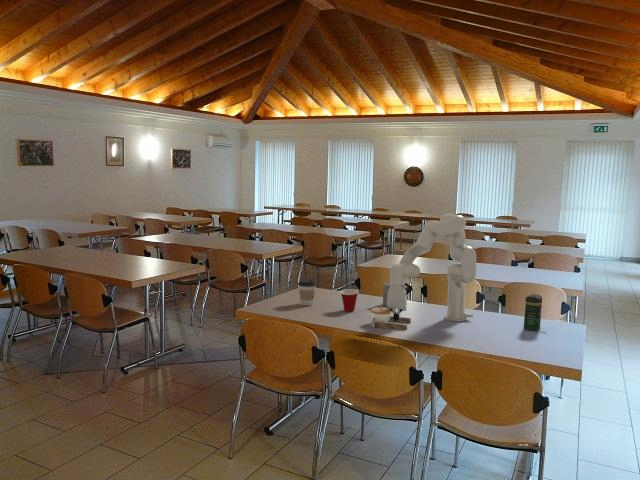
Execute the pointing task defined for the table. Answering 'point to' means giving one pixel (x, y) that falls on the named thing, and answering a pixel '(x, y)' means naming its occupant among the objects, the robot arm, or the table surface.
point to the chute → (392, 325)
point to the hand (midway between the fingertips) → (396, 320)
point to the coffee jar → (533, 312)
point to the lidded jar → (380, 314)
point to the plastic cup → (349, 299)
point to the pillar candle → (385, 292)
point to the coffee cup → (307, 291)
